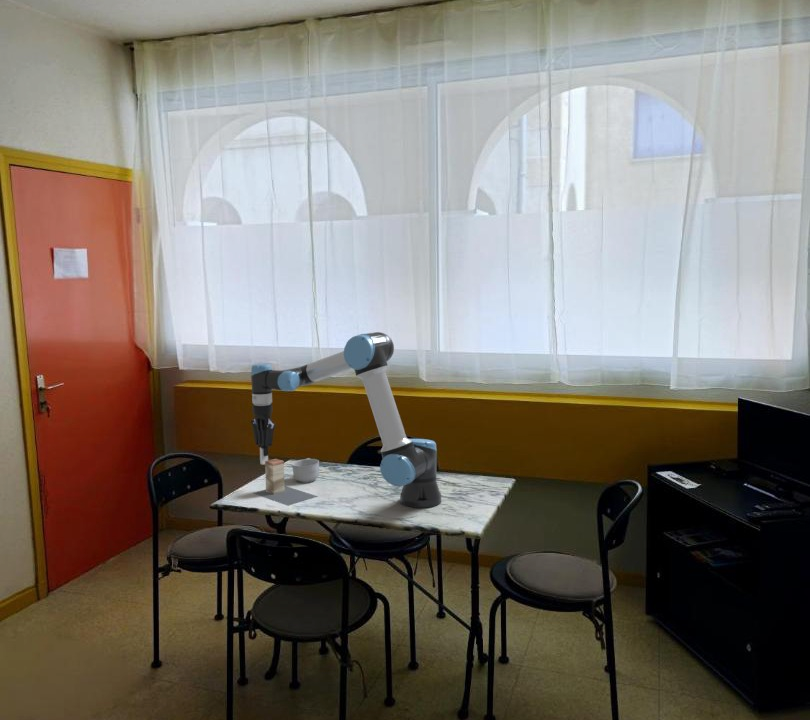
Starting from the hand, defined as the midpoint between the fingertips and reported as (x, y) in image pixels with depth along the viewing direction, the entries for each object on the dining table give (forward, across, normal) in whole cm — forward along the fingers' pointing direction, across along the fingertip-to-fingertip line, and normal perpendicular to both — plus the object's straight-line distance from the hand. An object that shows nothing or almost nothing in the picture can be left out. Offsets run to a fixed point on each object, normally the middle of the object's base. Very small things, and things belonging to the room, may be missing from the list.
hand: (264, 463), depth 265 cm
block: (+10, +7, 0) cm, 12 cm away
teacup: (+11, +3, +19) cm, 22 cm away
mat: (+10, +13, 0) cm, 16 cm away
